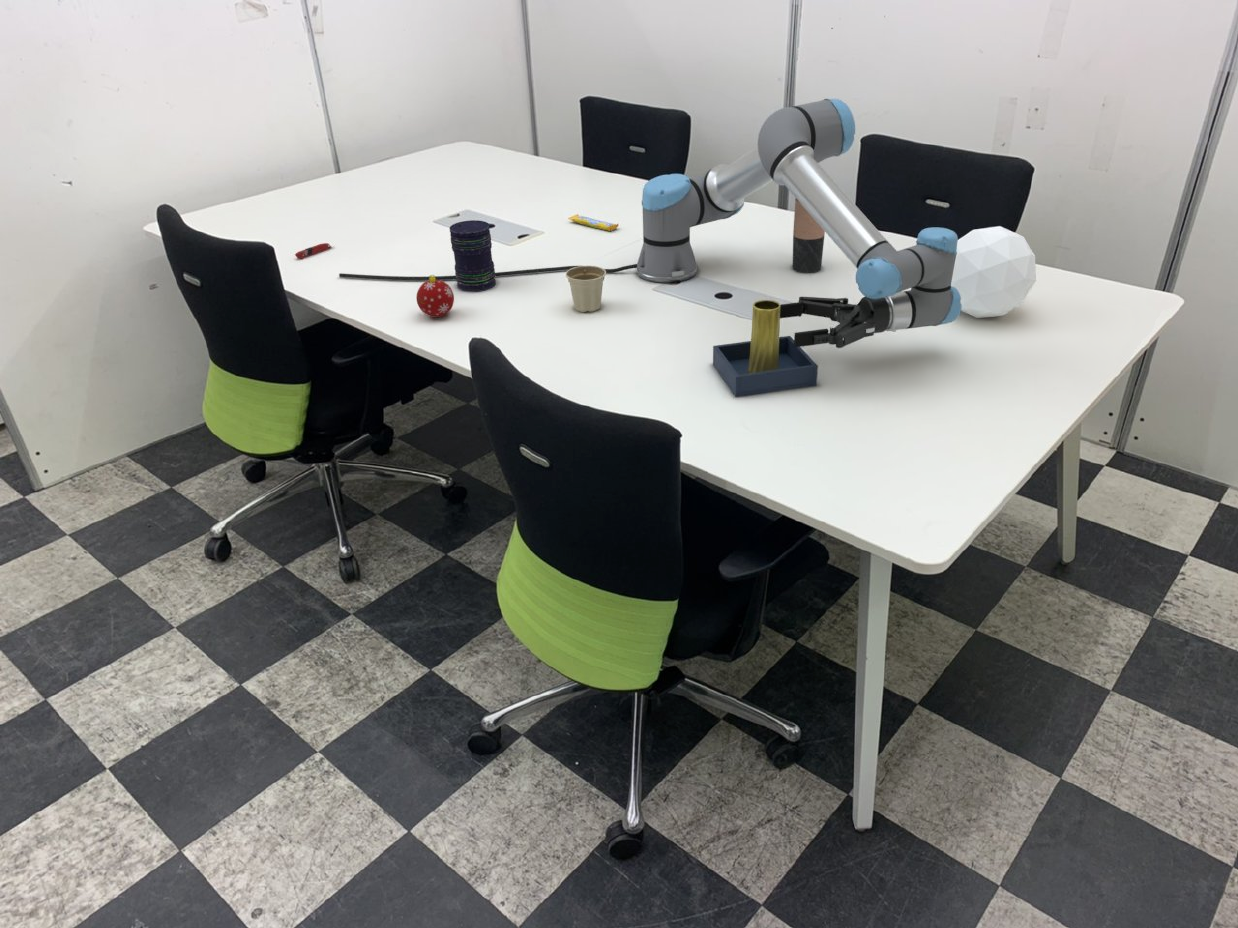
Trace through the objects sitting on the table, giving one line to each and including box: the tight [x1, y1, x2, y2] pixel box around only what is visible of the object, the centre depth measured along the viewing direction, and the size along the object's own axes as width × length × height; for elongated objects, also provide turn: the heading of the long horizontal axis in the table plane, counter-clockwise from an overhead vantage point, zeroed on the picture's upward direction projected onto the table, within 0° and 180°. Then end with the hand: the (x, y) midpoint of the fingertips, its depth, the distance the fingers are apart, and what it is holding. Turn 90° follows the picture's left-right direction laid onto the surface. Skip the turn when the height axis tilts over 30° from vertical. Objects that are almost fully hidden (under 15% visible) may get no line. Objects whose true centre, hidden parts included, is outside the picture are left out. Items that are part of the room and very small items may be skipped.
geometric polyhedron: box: [951, 225, 1037, 319], centre depth 204 cm, size 19×20×20 cm
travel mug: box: [792, 197, 826, 274], centre depth 231 cm, size 8×8×20 cm
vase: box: [748, 299, 781, 373], centre depth 183 cm, size 6×6×14 cm
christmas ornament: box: [416, 274, 455, 318], centre depth 216 cm, size 9×9×10 cm
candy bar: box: [568, 214, 620, 232], centre depth 270 cm, size 17×4×2 cm, turn 49°
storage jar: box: [449, 219, 497, 293], centre depth 231 cm, size 10×10×15 cm
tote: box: [712, 335, 819, 398], centre depth 186 cm, size 17×15×4 cm
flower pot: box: [565, 265, 607, 313], centre depth 217 cm, size 9×9×9 cm
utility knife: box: [294, 242, 332, 260], centre depth 259 cm, size 12×1×2 cm, turn 143°
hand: (781, 326), depth 182 cm, fingers open, 13 cm apart
